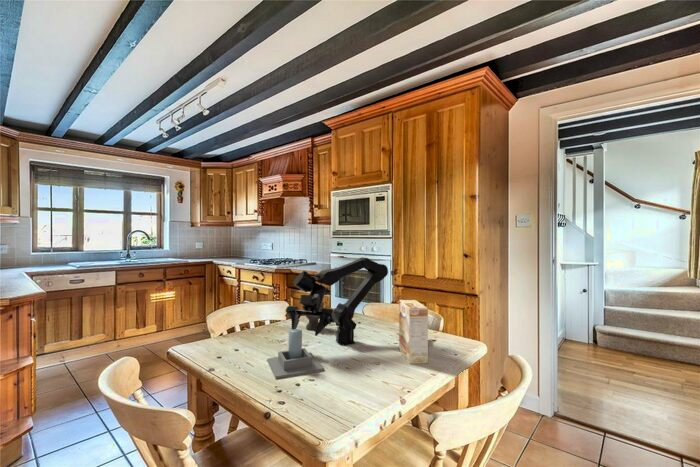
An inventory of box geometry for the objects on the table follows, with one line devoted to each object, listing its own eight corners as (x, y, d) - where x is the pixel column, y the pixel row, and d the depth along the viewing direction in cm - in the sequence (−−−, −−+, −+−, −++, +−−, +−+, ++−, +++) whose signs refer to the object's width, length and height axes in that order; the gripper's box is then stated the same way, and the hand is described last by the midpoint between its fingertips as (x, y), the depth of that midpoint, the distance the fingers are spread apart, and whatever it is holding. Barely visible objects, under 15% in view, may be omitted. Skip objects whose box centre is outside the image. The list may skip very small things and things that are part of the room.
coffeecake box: (398, 349, 127) (398, 299, 127) (416, 348, 128) (416, 299, 128) (408, 364, 112) (408, 308, 112) (428, 363, 113) (428, 307, 113)
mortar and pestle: (331, 327, 158) (331, 286, 158) (324, 332, 149) (324, 288, 150) (309, 325, 161) (309, 285, 161) (301, 330, 153) (302, 287, 153)
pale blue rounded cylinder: (299, 359, 113) (300, 328, 114) (303, 364, 109) (303, 332, 109) (286, 361, 112) (287, 329, 112) (289, 366, 108) (290, 333, 108)
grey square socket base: (310, 354, 121) (310, 344, 121) (324, 370, 106) (324, 359, 106) (267, 360, 115) (267, 350, 115) (275, 379, 100) (275, 366, 100)
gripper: (287, 284, 125) (272, 320, 114) (333, 287, 119) (321, 324, 109) (296, 301, 132) (283, 336, 122) (340, 304, 127) (330, 340, 116)
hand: (303, 334), depth 117 cm, fingers open, 9 cm apart
